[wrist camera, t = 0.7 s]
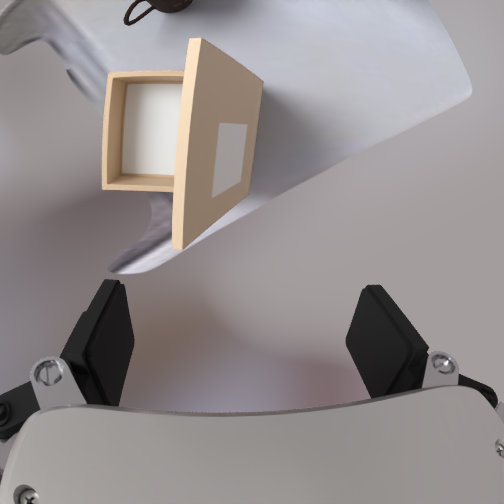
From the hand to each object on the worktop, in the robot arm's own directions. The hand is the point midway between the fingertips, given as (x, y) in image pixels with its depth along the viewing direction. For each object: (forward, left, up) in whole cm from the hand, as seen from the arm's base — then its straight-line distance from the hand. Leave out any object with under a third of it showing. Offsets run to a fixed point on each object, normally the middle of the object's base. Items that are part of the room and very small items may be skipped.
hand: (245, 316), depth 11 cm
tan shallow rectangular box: (-5, -7, -33) cm, 34 cm away
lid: (-5, -1, -18) cm, 19 cm away
